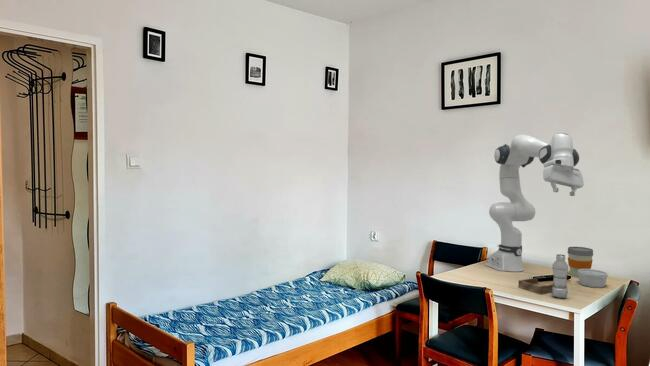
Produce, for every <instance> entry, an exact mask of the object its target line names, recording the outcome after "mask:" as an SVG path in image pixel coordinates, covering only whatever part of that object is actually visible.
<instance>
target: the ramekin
mask: <svg viewBox="0 0 650 366" xmlns="http://www.w3.org/2000/svg"><path fill="white" fill-rule="evenodd" d="M578 273H579V277H578V282H579V284H580V285H582V286H585V287H589V288H599V289H600V288H604V287H605V286H606V285H607V280H608V279H607V278H608V275H609V274H608V272H607V271H604V270H599V269H594V268H593V269H592V268H590V269H579V270H578Z"/></svg>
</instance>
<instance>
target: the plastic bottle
mask: <svg viewBox="0 0 650 366" xmlns="http://www.w3.org/2000/svg"><path fill="white" fill-rule="evenodd" d="M555 256H556V257H555V259H556V260H555V261H554V262H553V263H552V273H553V282H552V284H553V287H552V292H551V295H552V296H553V297H554V298H559V299H566V298H567V297H568V295H569V294H568V293H569V292H568V285H567V279H568V270H569V265H568V264H567V263H568V262H566V255H565V254H561V253H560V254H556V255H555Z"/></svg>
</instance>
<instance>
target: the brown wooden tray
mask: <svg viewBox="0 0 650 366" xmlns="http://www.w3.org/2000/svg"><path fill="white" fill-rule="evenodd" d="M552 287H553V283H552V284H543V283H539V278H538V277H533V278H527V279H521V280H518V288H519V289H522V290H526V291H528V292H532V293H535V294H537V295H545V294H550V293H551V294H552Z"/></svg>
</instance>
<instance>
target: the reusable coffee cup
mask: <svg viewBox="0 0 650 366" xmlns="http://www.w3.org/2000/svg"><path fill="white" fill-rule="evenodd" d="M567 255H568V256H567V263H568V264H567V265H568V267H569V273H570V276H572V277H575V278H579V273H578V270H579V269H592V265H593V256H594V250H593V248H590V247H585V246H568V247H567Z"/></svg>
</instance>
